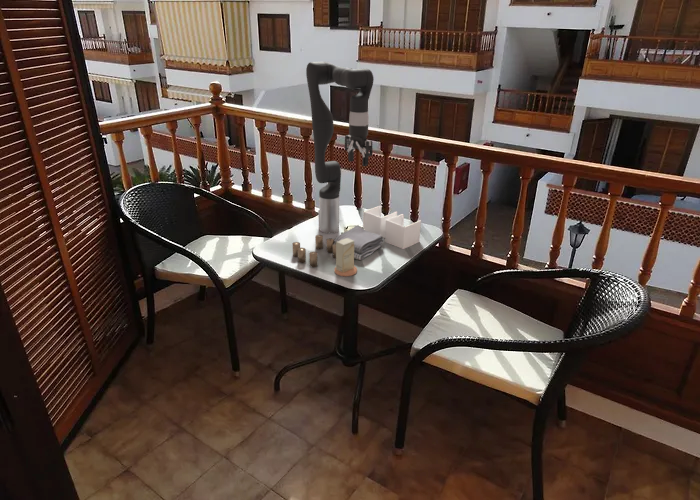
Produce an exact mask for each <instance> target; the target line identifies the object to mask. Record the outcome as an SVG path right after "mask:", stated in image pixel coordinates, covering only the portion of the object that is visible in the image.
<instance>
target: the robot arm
mask: <svg viewBox="0 0 700 500" xmlns="http://www.w3.org/2000/svg"><path fill="white" fill-rule="evenodd" d="M305 74H306V75H305V76H306V82H307V89H308V93H309V100H310V102H309V103H310V111H311V125H312V126H311V127H312V134H313V135H312V136H313V144H314V145H313V146H314V175H315V178H316V181H317V182H318V183H319V184H326V185H325V186H323V187H321V188H320V189H319V193H318V197H319V200H318V202H319V203H318V205H319V207H318V208H319V210H318V229H319V231H320V232H321V233H322V234H323V233H324V234H327V235H328V234H329V235H330V234H336V233H338V232H339V231H340V191H341V181H342V170H341V168H342V167H341V165H340V163H339V162H338V161H337V160H331V161H330V160H329V161H325V159H326V151H327V148H328V146H329V144H330V142H331V140H332V137H333V135H334V132H335V131H334V130H335V129H334V116H333V114H332V111H331V110H330V109H329V106H327V104H326V102H325V100H323V98H322V95H321V91H320V85H321V86H322V85H328V84H333V83H335V84H337V85H338V86H342V87H346V88H347V89H350V90H359V91H358V93H356V94H353V95H351V96H350V100H349V116H348V117H349V118H348V134H347V135H344V150H345V151H347V154H348V156H347V159H348V162H352V163H353V162H354V159H355V158H354V156H355V155H354V154H355V149H357V150H358V151H359V153H361V154H362V166H363V167H367V166H368V165H369V157H372V156H373V140H367V137H368V136H369V99H370V96H371V93H372V89H373V85H374V78H375V77H374V74H373V72H372V70H371V69H368V68H355V69H353V68H351V67H346V66H337V65H335V64H334V63H331V62H329V61H310V62H308V63H307V65H306V71H305Z"/></svg>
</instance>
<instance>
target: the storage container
mask: <svg viewBox="0 0 700 500" xmlns="http://www.w3.org/2000/svg"><path fill="white" fill-rule="evenodd" d="M404 221H405V214H403V213H401V214H398V211H395V210H394V212H392V213H389V214H387V215H385V216H382V205H378V206H375V207H372V208H369V209H367V210H364V211H363V214H362V228H364V229H365V231H367V232H371V233H374V234H378V235H380V236H382V237H383V239H384V242H385V243H386V244H390V245H392V246H394V247H397V248H399V249H402V250H404V249H407V248H409V247H411V246H413V245H416V244H417V243H420V241H421V240H420V238H421V226H422V220H421V219H418V221H416V222H413V223H411V224H408V225H406V226H404V223H405V222H404Z"/></svg>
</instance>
